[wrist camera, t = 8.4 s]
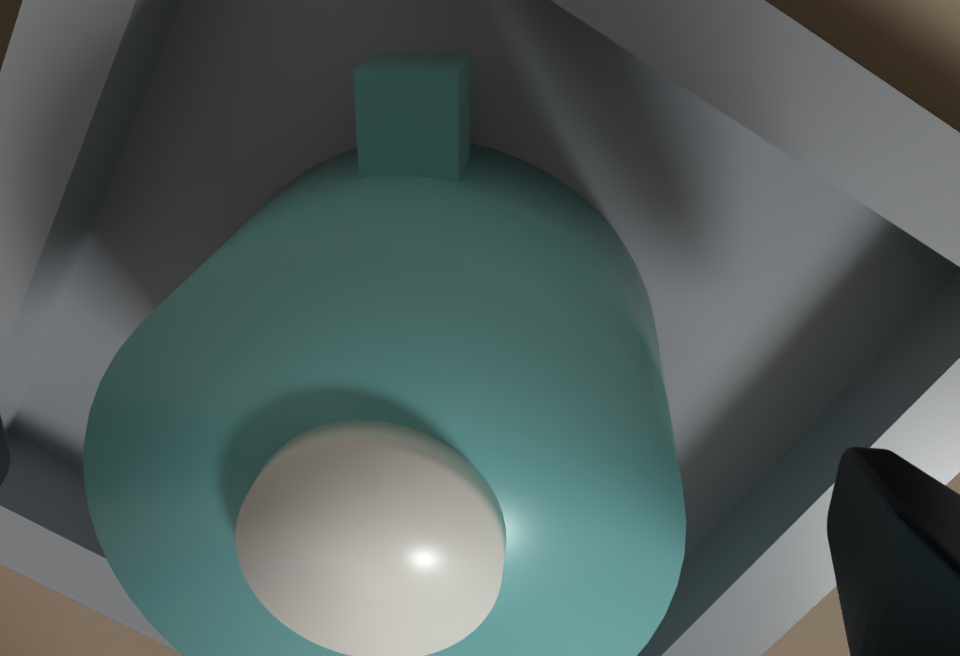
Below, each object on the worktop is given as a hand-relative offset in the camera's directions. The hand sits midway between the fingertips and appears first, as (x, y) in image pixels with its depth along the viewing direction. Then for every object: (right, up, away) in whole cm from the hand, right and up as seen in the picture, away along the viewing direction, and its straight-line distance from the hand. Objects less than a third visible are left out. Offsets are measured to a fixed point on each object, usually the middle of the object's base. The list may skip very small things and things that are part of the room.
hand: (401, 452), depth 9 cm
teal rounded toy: (0, +1, +2) cm, 2 cm away
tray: (0, +1, +3) cm, 3 cm away
